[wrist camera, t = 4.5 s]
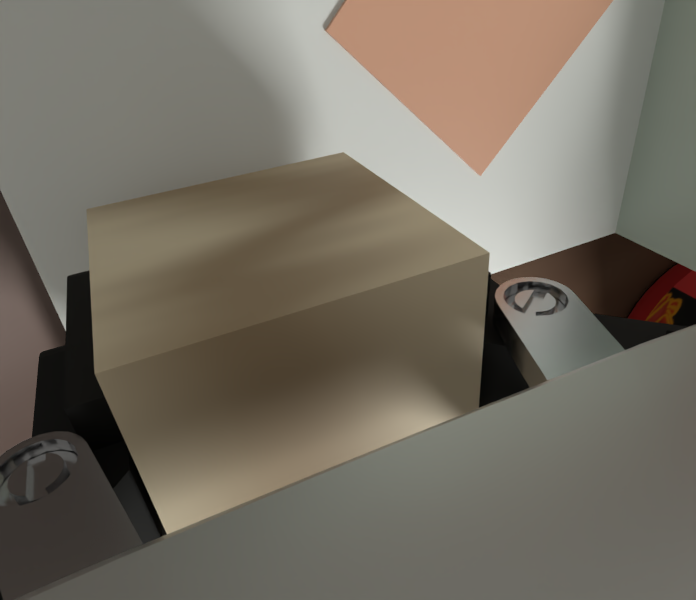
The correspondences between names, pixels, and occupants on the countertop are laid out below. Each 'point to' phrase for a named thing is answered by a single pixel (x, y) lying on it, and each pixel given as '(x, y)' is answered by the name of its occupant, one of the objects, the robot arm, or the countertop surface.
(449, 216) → the arena
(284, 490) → the robot arm
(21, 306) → the countertop surface
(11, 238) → the countertop surface
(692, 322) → the canned food
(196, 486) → the cube
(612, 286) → the countertop surface
